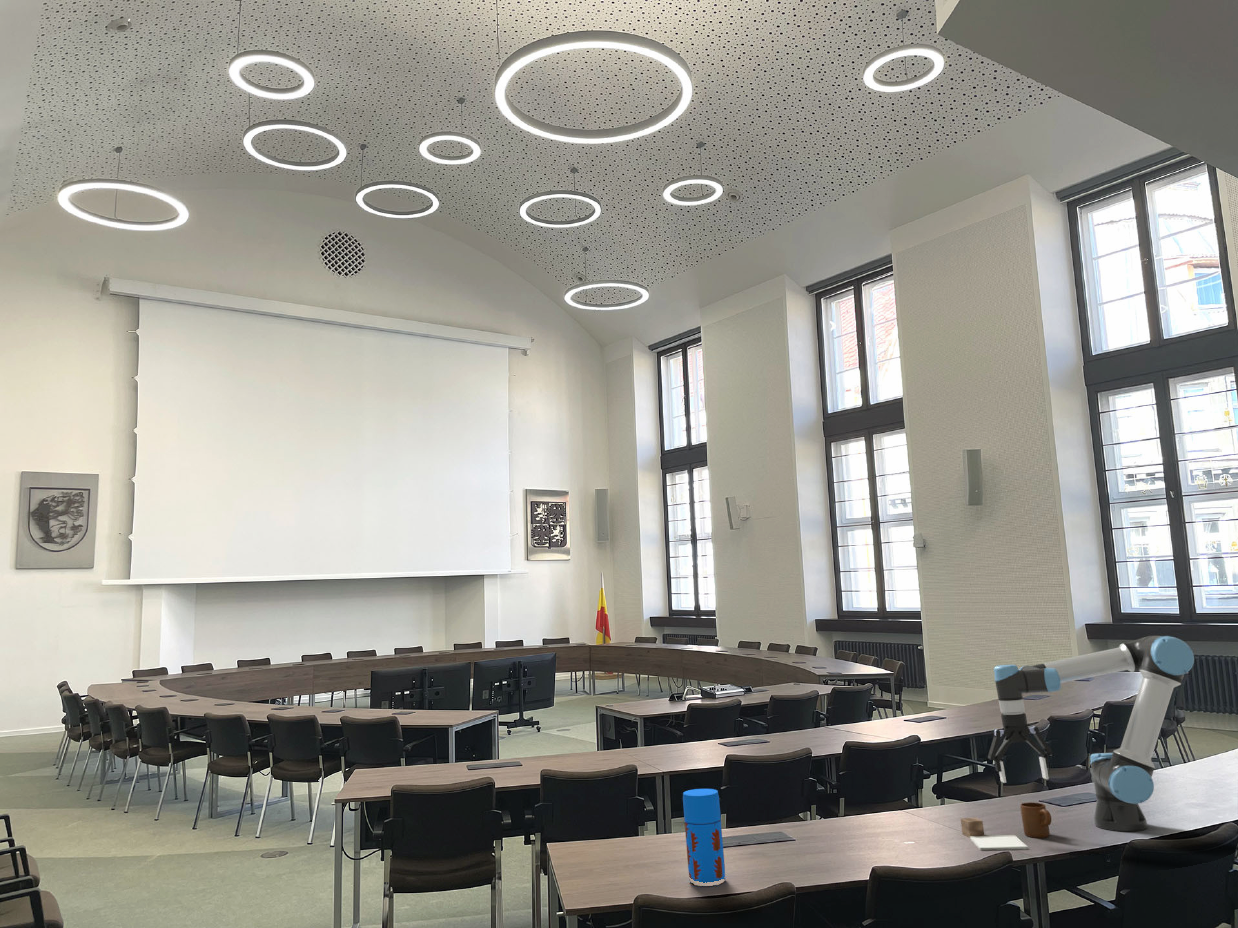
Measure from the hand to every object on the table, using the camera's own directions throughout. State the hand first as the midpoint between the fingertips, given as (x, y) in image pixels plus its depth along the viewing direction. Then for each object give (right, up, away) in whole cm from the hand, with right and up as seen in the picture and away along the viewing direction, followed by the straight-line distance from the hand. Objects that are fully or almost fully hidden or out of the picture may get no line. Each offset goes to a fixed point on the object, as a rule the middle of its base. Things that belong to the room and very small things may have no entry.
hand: (1024, 780), depth 273 cm
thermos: (-106, -20, -26) cm, 111 cm away
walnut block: (-15, -20, +4) cm, 25 cm away
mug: (+4, -17, -3) cm, 18 cm away
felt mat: (-12, -17, -8) cm, 22 cm away
